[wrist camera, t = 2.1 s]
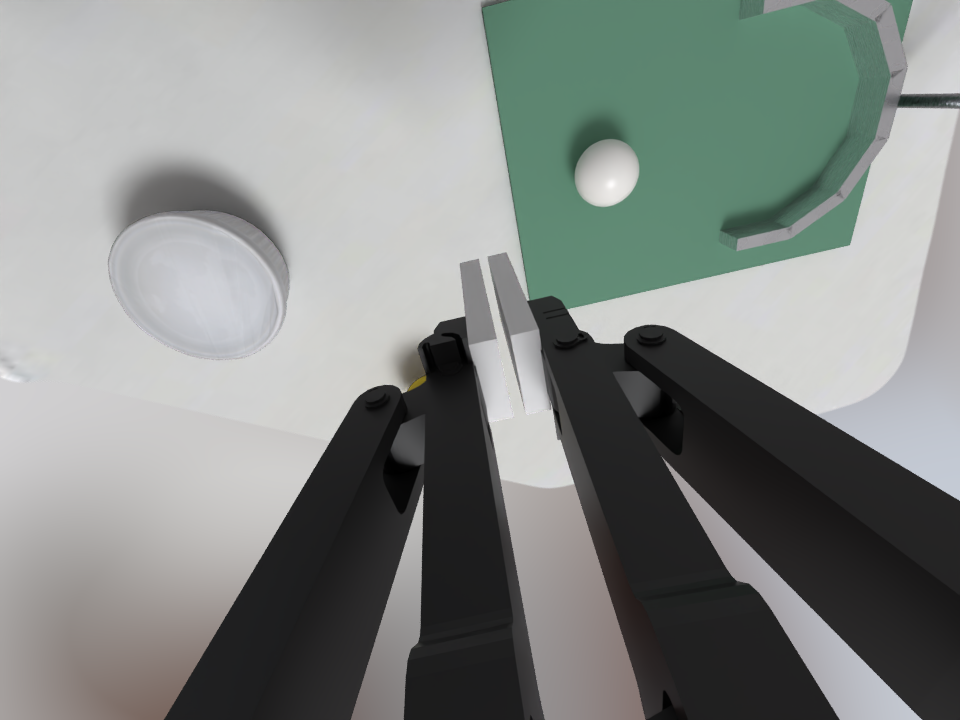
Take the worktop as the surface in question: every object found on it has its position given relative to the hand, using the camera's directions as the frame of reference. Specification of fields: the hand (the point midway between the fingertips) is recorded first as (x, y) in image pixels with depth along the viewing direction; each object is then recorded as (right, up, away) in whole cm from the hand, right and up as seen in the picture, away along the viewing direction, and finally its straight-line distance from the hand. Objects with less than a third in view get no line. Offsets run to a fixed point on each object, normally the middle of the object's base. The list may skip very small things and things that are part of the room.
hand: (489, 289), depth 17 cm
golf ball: (+9, +10, +13) cm, 19 cm away
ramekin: (-21, +5, +17) cm, 27 cm away
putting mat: (+16, +13, +15) cm, 25 cm away
